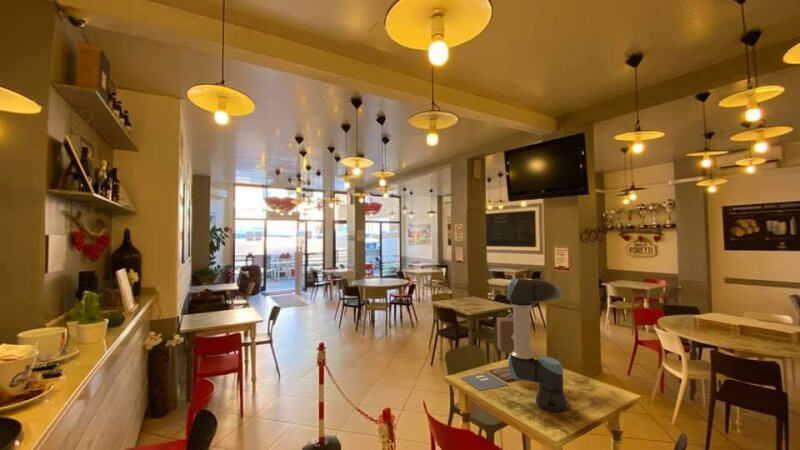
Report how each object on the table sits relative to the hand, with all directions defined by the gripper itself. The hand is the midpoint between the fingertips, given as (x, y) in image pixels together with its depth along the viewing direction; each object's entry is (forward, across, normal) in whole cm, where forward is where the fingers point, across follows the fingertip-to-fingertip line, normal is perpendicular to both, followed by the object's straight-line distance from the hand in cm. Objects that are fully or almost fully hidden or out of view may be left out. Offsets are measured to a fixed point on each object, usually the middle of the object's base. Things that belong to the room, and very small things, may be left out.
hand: (505, 335), depth 215 cm
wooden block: (+6, 0, -8) cm, 10 cm away
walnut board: (+17, 0, -18) cm, 25 cm away
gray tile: (+31, -2, -4) cm, 31 cm away
